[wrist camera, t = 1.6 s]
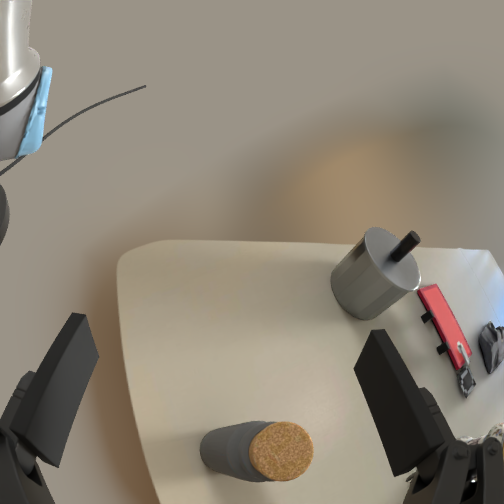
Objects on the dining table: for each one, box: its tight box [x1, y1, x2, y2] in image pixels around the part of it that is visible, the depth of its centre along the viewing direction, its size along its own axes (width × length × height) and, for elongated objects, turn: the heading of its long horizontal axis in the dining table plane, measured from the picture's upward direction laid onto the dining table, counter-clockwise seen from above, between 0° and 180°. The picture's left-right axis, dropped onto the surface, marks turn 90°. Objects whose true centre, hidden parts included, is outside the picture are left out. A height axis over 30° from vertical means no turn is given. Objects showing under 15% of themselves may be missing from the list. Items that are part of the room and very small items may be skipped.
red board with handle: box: [417, 284, 476, 398], centre depth 53 cm, size 30×3×15 cm
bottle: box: [200, 421, 314, 482], centre depth 21 cm, size 6×6×15 cm
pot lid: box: [364, 227, 421, 292], centre depth 42 cm, size 13×13×7 cm
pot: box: [331, 237, 408, 320], centre depth 47 cm, size 12×12×10 cm
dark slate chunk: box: [479, 321, 504, 374], centre depth 59 cm, size 15×22×5 cm
